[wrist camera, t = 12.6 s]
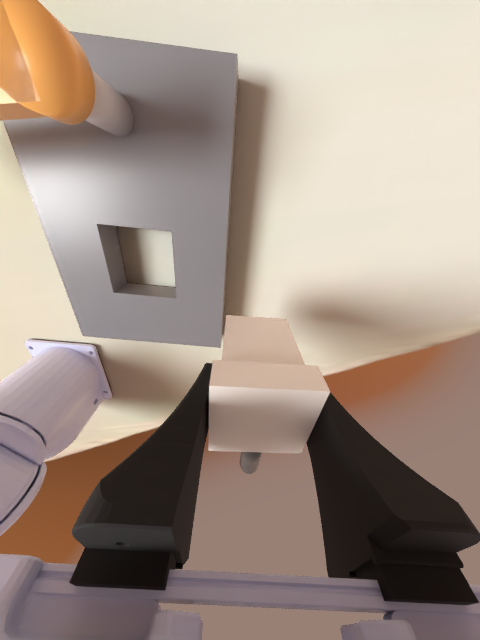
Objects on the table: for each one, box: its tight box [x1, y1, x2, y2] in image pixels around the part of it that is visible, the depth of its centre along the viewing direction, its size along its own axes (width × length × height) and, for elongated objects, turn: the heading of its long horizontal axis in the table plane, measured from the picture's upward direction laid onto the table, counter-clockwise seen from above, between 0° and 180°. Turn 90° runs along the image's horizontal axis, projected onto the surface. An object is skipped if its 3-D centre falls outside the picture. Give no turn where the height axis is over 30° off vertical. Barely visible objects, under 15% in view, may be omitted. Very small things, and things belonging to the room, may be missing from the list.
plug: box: [209, 315, 330, 474], centre depth 13 cm, size 8×5×6 cm, turn 175°
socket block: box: [3, 31, 238, 348], centre depth 15 cm, size 20×14×7 cm
